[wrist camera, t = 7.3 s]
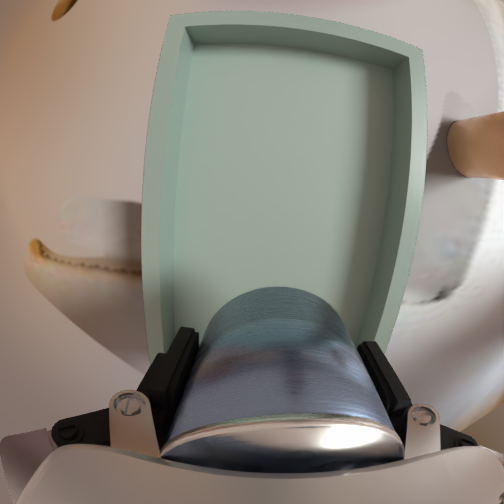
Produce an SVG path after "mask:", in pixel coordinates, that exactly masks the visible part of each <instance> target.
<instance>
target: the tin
mask: <svg viewBox="0 0 504 504" xmlns="http://www.w3.org/2000/svg"><path fill="white" fill-rule="evenodd" d="M160 456H161V458H162V459H165V460H170V461H174V462H179V463H185V464H190V465H196V466H201V467H208V468H215V469H222V470H231V471H242V472H256V473H317V472H331V471H341V470H349V469H357V468H364V467H370V466H376V465H381V464H386V463H391V462H396V461H400V460H402V459H403V458H404V457H405V450H404V446H403V444H402V441H401V439H400V437H399V436H398V434H397V433H396V432H395V430H394V428H393V426H392V423H391V421H390V419H389V417H388V414H387V412H386V410H385V408H384V405H383V403H382V401H381V399H380V397H379V395H378V392H377V390H376V388H375V386H374V384H373V382H372V380H371V378H370V375H369V373H368V371H367V369H366V367H365V365H364V363H363V361H362V359H361V357H360V355H359V353H358V351H357V349H356V347H355V345H354V343H353V341H352V339H351V337H350V335H349V333H348V331H347V329H346V327H345V325H344V323H343V321H342V319H341V318H340V316H339V315H338V313H337V312H336V311H335V310H334V308H333V307H332V306H331V305H330V304H328V303H327V302H326V301H325V300H323V299H322V298H320V297H318V296H317V295H315V294H312V293H310V292H308V291H304V290H301V289H297V288H291V287H278V286H275V287H264V288H259V289H255V290H252V291H249V292H246V293H243V294H241V295H239V296H237V297H235V298H233V299H232V300H230V301H229V302H227V303H226V304H225V305H224V306H222V307H221V308H220V309H219V310H218V311H217V312H216V314H215V315H214V316H213V317H212V319H211V321H210V322H209V324H208V326H207V329H206V331H205V334H204V336H203V339H202V342H201V344H200V347H199V350H198V352H197V355H196V358H195V360H194V363H193V366H192V368H191V371H190V374H189V377H188V379H187V382H186V385H185V387H184V390H183V393H182V396H181V398H180V401H179V404H178V407H177V409H176V412H175V415H174V418H173V421H172V423H171V426H170V429H169V432H168V435H167V437H166V440H165V443H164V446H163V447H162V448H161V450H160Z"/></svg>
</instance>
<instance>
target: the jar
mask: <svg viewBox="0 0 504 504" xmlns="http://www.w3.org/2000/svg"><path fill="white" fill-rule="evenodd" d="M447 147H448V152H449V156H450V159H451V161H452V163H453V165H454V166H455V168H456V169H457V170H458V172H460V173H461V174H462V175H464V176H466V177H474V178H488V179H499V180H504V112H499V113H494V114H489V115H484V116H479V117H474V118H470V119H465V120H461V121H457V122H455V123H453V124H452V125H451V127H450V129H449V131H448V136H447Z"/></svg>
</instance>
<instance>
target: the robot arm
mask: <svg viewBox="0 0 504 504" xmlns="http://www.w3.org/2000/svg"><path fill="white" fill-rule="evenodd" d="M198 350H199V332H195V329H194V328H189V327H183V326H181V327H180V329H179V331H178V333H177V334H176V336H175V338H174V340H173V342H172V344H171V345H170V347H169V349H168V351H167V353H166V354H165V353H160V352H159V353H158V354H157V355H156V357H155V359H154V360H153V362H152V364H151V366H150V367H149V369H148V371H147V373H146V374H145V376H144V378H143V380H142V382H141V383H140V385H139V387H138V389H137V390H136V391H135V390H124V391H120V392H118V393H116V394H115V395H114V396H113V397H112V398H111V400H110V403H109V408H107V409H103V410H99V411H95V412H91V413H87V414H83V415H79V416H75V417H71V418H66V419H62V420H59V421H58V422H57V423H55V425H54V426H53V427H52V430H50V431H47V429H46V428H44V429H40V430H35V431H30V432H25V433H20V434H14V435H9V436H6V437H4V438H3V439H2V440H1V441H0V457H1V462H2V466H3V471H4V475H5V479H6V482H7V486H8V489H9V492H10V496H11V499H12V502H13V504H504V454H501V453H498V452H496V451H493V450H490V449H488V448H485V447H483V446H480V447H478V445H477V443H476V441H475V440H474V439H473V438H472V437H470V436H468V435H465V434H463V433H461V432H458V431H456V430H453V429H451V428H448V427H446V426H443V425H441V424H440V421H439V415H438V413H437V411H436V410H435V409H434V408H433V407H431V406H429V405H426V404H416V405H412V403H411V399H410V397H409V396H408V394H407V392H406V390H405V389H404V387H403V385H402V384H401V382H400V380H399V378H398V377H397V375H396V373H395V372H394V370H393V368H392V367H391V365H390V363H389V362H388V360H387V358H386V357H385V355H384V353H383V352H382V350H381V349H380V347H379V345H378V344H377V342H376V341H363V342H362V344H359V345H358V347H357V351H358V353H359V355H360V357H361V359H362V361H363V363H364V365H365V367H366V369H367V371H368V373H369V375H370V378H371V380H372V382H373V384H374V386H375V388H376V390H377V392H378V395H379V397H380V399H381V401H382V403H383V405H384V408H385V410H386V412H387V414H388V417H389V419H390V421H391V423H392V426H393V428H394V430H395V432H396V433H397V434H398V436H399V437H400V439H401V441H402V444H403V446H404V450H405V457H404V458H403V459H402V460H400V461H396V462H391V463H386V464H381V465H376V466H370V467H364V468H357V469H349V470H341V471H331V472H317V473H256V472H242V471H231V470H222V469H215V468H208V467H201V466H196V465H190V464H185V463H179V462H174V461H170V460H165V459H162V458H161V456H160V450H161V448H162V447H163V446H164V443H165V440H166V437H167V435H168V432H169V429H170V426H171V423H172V421H173V418H174V415H175V412H176V409H177V407H178V404H179V401H180V398H181V396H182V393H183V390H184V387H185V385H186V382H187V379H188V377H189V374H190V371H191V368H192V366H193V363H194V360H195V358H196V355H197V352H198Z"/></svg>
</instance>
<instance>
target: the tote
mask: <svg viewBox="0 0 504 504" xmlns="http://www.w3.org/2000/svg"><path fill="white" fill-rule="evenodd" d="M426 158H427V92H426V77H425V66H424V58H423V51H422V49H420V48H418V47H415V46H413V45H411V44H408V43H405V42H403V41H400V40H397V39H395V38H392V37H389V36H386V35H383V34H380V33H377V32H373V31H370V30H367V29H363V28H360V27H355V26H352V25H348V24H344V23H339V22H335V21H330V20H325V19H320V18H313V17H307V16H301V15H293V14H284V13H273V12H258V11H257V12H256V11H213V12H196V13H186V14H177V15H171V16H170V18H169V22H168V25H167V29H166V33H165V37H164V41H163V45H162V49H161V54H160V58H159V63H158V68H157V73H156V78H155V84H154V89H153V95H152V101H151V108H150V116H149V123H148V130H147V139H146V149H145V160H144V173H143V190H142V216H141V259H142V285H143V302H144V315H145V326H146V336H147V345H148V353H149V360H150V366H151V364H152V362H153V360H154V359H155V357H156V355H157V354H158V353H159V352H160V353H165V354H166V353H167V351H168V349H169V347H170V345H171V344H172V342H173V340H174V338H175V336H176V334H177V333H178V331H179V329H180V327H181V326H183V327H189V328H194V329H195V332H199V347H200V344H201V342H202V339H203V336H204V334H205V331H206V329H207V326H208V324H209V322H210V321H211V319H212V317H213V316H214V315H215V314H216V312H217V311H218V310H219V309H220V308H221V307H222V306H224V305H225V304H226V303H227V302H229V301H230V300H232V299H233V298H235V297H237V296H239V295H241V294H243V293H246V292H249V291H252V290H255V289H259V288H264V287H275V286H278V287H291V288H297V289H301V290H304V291H308V292H310V293H312V294H315V295H317V296H318V297H320V298H322V299H323V300H325V301H326V302H327V303H328V304H330V305H331V306H332V307H333V308H334V310H335V311H336V312H337V313H338V315H339V316H340V318H341V319H342V321H343V323H344V325H345V327H346V329H347V331H348V333H349V335H350V337H351V339H352V341H353V343H354V345H355V347H356V349H357V347H358V345H359V344H362V342H363V341H376V342H377V344H378V345H379V347H380V349H381V350H382V352H383V353H385V351H386V348H387V345H388V342H389V340H390V337H391V334H392V331H393V328H394V325H395V322H396V319H397V315H398V312H399V309H400V306H401V302H402V299H403V295H404V291H405V288H406V284H407V280H408V276H409V272H410V268H411V263H412V259H413V254H414V249H415V244H416V239H417V234H418V228H419V222H420V215H421V208H422V201H423V193H424V183H425V172H426Z"/></svg>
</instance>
